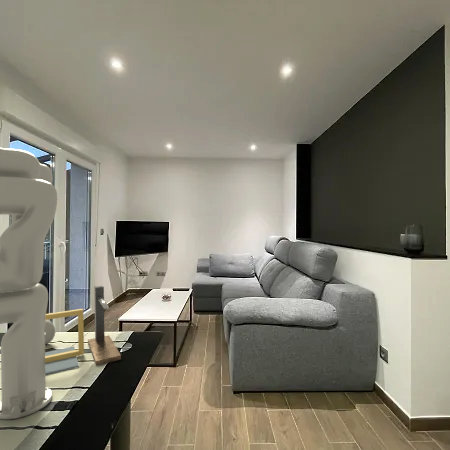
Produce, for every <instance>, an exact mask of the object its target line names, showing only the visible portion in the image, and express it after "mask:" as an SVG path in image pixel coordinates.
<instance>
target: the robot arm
mask: <svg viewBox="0 0 450 450" xmlns="http://www.w3.org/2000/svg"><path fill="white" fill-rule="evenodd" d="M53 179H54V177H53V173H52V170H51V167H49V166H48V165H46V164H43V163H40V161H39V159H38V158H37V157H36V156H35V155H34V154H33V153H31V152H29V151H26V150H22V149H16V148H5V147H4V148H3V147H0V215H1V216H2V215H3V216H4V215H8V216H9V215H11V224H10V225H9V226H8V227H7V228H6V229H5V230H4V231H3V232H2V233H1V235H0V325H3V324H11V326H9V328H8V329H7V330H6V332H5V333H4V334H3V336H2V338H1V341H0V371H1V372H0V373H1V374H0V376H1V377H0V378H1V379H0V380H1V387H0V389H1V399H0V420H13V419H14V420H15V419H19V418H24V417H26V416H29V415H31V414H34V413H36V412H39V411H40V410H41V409H43V408H44V407H46V406H47V405H48V404H50V402H51V400H53V390H52V389H51V388H49V387H47V385H46V384H47V383H46V375H45V352H46V344H45V317H46V314H47V308H48V302H49V292H48V289H47V287H46V286H45V285H43V284H42V283H40V281H41V280H42V278H43V272H44V269H43V268H44V254H45V253H44V252H45V251H44V250H45V248H44V247H45V239H46V236H47V235H48V232H49V231H50V229H51V226H52V224H53V222H54V218H55V216H56V213H57V212H56V211H57V206H58V193H57V189H56V187H55V186H54V185H53Z"/></svg>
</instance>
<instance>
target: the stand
mask: <svg viewBox="0 0 450 450" xmlns="http://www.w3.org/2000/svg"><path fill="white" fill-rule="evenodd" d="M93 288H94V290H93V291H94V337H93V338H90V339H87V345H88V348H89V350H90V353H91V356H92V359H93V362H94V364H95V366H99V365H104V364H109V363H112V362H116V361H120V360H122V354H121V353H120V351H119V350H118V348H117V346H116V344H115V343H114V341H113V339H112V337H111V336H110V335H105V310H106V311H108V310H109V308H110V306H109V305H108V303H107V302H106V301H105V287H104V286H103V285H97V286H94V287H93Z"/></svg>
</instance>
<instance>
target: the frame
mask: <svg viewBox="0 0 450 450" xmlns="http://www.w3.org/2000/svg"><path fill="white" fill-rule="evenodd" d="M74 316H77V329H78V330H77V332H78V333H77V335H78V339H77V340H78V344H77V345H78V346H77V347H78V349H75V350H73V351H68V352H64V353H59V354H54V355H49V356H45V363H47V362H52V361H56V360H61V359H65V358H70V357H74V356H83V355H85V340H84V339H85V337H84V336H85V334H84V333H85V330H84V328H85V327H84V325H85V324H84V323H85V322H84V309H83V308H78V309H72V310H65V311H58V312H50V313H46V317H45V320H54V319H55V320H56V319H61V318H68V317H74Z"/></svg>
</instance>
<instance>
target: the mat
mask: <svg viewBox="0 0 450 450" xmlns="http://www.w3.org/2000/svg"><path fill="white" fill-rule="evenodd" d="M73 350H76V348H75V346H69V347H65V348H59V349H55V350H50V351H45V356H49V355H54V354H59V353H64V352H68V351H73ZM77 368H79V362H78V357H77V356H74V357H70V358H65V359H61V360H56V361H52V362H47V363H45V376H46V375H51V374H56V373H60V372H64V371H68V370H72V369H77Z"/></svg>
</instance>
